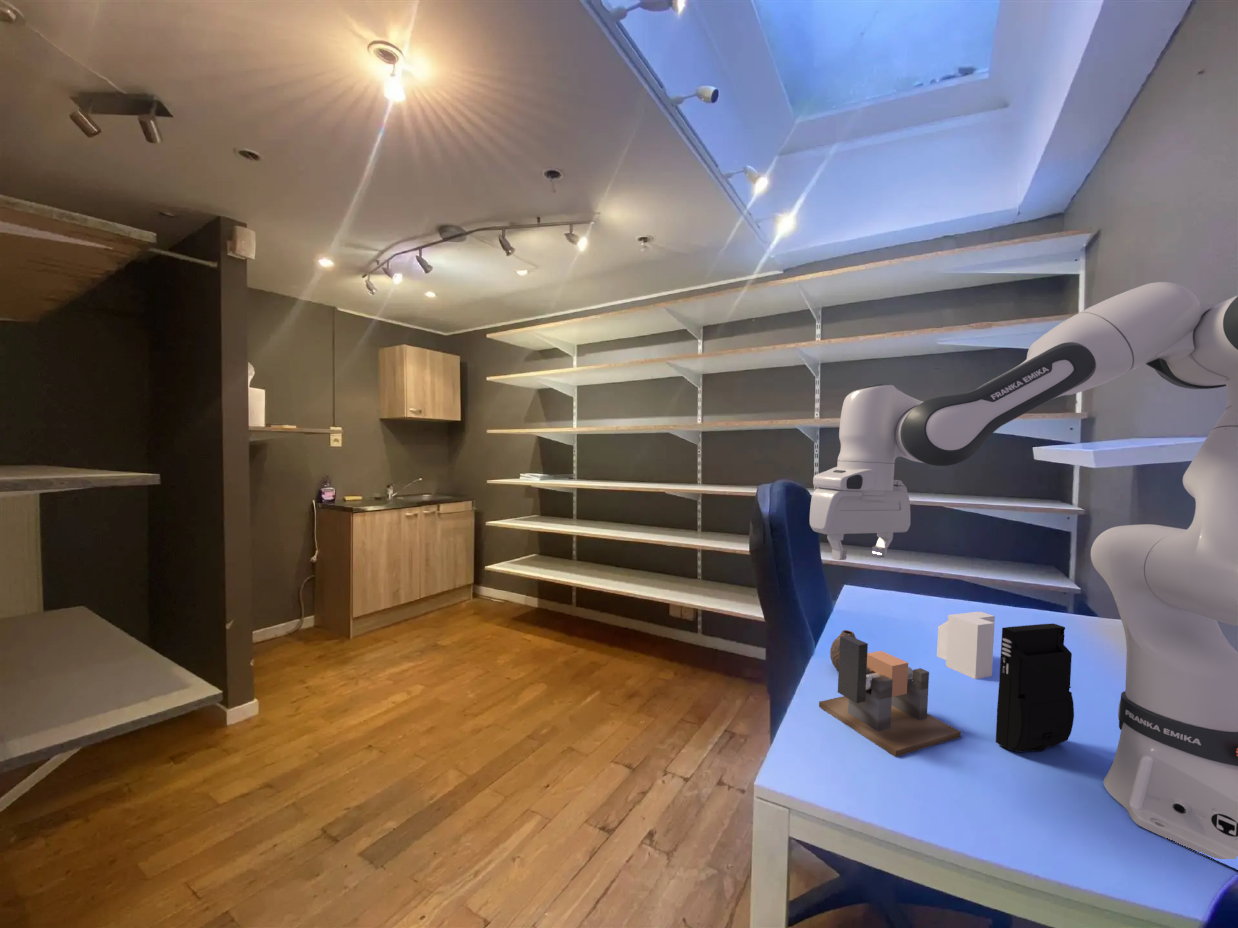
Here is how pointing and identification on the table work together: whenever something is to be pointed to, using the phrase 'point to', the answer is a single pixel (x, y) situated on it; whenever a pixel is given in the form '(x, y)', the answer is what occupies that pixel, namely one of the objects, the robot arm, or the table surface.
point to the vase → (838, 648)
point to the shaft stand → (894, 716)
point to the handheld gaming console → (1034, 688)
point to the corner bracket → (967, 643)
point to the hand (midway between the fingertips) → (859, 558)
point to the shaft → (855, 669)
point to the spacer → (889, 670)
